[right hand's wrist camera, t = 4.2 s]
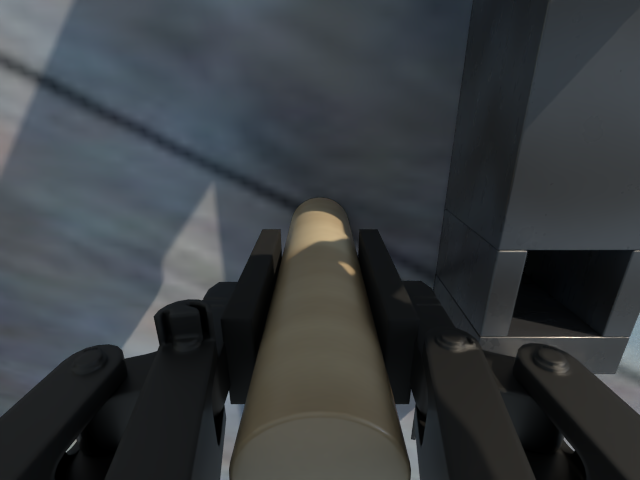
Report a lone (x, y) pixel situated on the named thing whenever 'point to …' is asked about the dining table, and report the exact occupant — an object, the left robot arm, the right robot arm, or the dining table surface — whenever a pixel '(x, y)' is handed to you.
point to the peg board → (546, 180)
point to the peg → (319, 368)
